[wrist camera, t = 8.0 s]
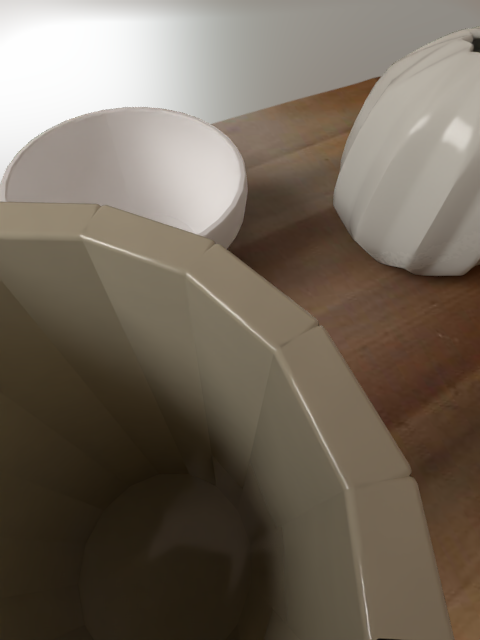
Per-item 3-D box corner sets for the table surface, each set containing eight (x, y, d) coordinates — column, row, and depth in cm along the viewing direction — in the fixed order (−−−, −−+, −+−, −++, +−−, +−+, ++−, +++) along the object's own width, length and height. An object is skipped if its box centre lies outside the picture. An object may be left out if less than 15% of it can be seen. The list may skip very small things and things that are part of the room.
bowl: (65, 369, 24) (4, 299, 17) (39, 217, 31) (-11, 127, 24) (274, 302, 27) (289, 222, 20) (207, 179, 34) (203, 90, 27)
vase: (305, 185, 34) (345, -3, 22) (448, 173, 35) (553, -8, 24) (353, 311, 27) (447, 129, 15) (530, 290, 28) (736, 110, 17)
